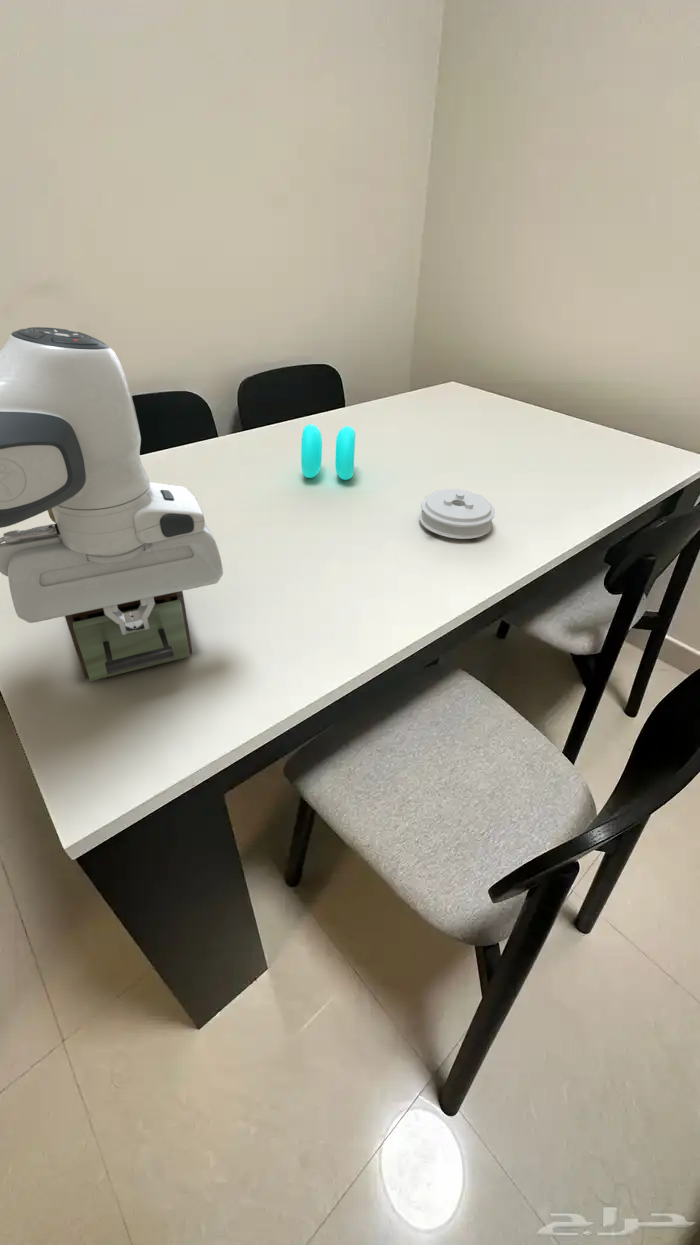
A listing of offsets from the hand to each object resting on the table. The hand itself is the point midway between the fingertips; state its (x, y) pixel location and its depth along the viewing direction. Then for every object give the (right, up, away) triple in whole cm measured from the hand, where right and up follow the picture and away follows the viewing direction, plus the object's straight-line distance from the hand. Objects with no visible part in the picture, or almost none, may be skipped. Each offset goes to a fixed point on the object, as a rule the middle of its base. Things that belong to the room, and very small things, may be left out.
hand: (135, 629), depth 64 cm
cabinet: (-5, 0, +12) cm, 13 cm away
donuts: (+19, +30, +52) cm, 63 cm away
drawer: (-3, -2, +8) cm, 9 cm away
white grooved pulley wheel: (+42, +18, +38) cm, 59 cm away
